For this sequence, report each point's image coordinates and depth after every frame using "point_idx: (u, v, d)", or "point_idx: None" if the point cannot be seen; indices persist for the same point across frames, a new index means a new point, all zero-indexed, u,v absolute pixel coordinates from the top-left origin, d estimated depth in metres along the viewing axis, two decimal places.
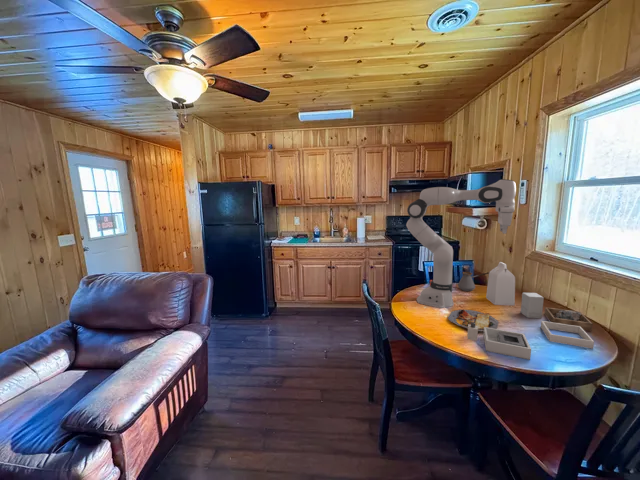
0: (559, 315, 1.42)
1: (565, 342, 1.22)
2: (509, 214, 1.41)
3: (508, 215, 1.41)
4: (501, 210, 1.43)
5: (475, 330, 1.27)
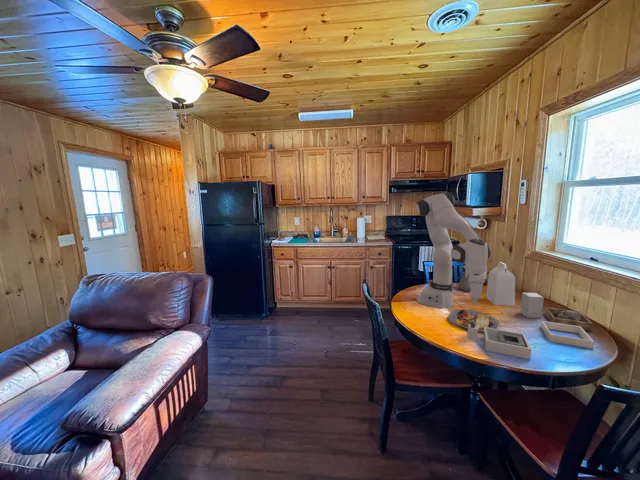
0: (561, 316, 1.42)
1: (565, 342, 1.22)
2: (479, 285, 1.16)
3: (478, 287, 1.16)
4: (469, 279, 1.18)
5: (475, 330, 1.27)
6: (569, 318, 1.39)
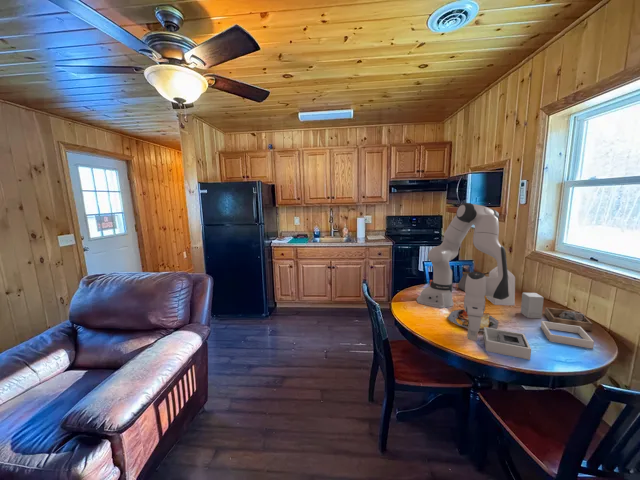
0: (562, 316, 1.41)
1: (565, 342, 1.22)
2: (477, 319, 1.19)
3: (476, 321, 1.19)
4: (468, 313, 1.21)
5: None
6: (570, 318, 1.39)
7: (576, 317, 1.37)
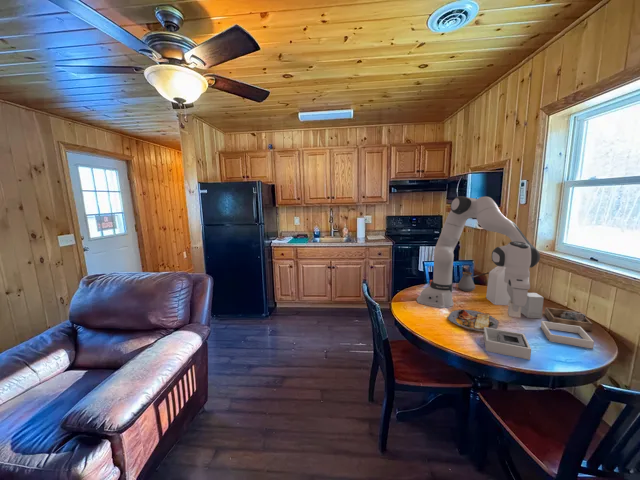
0: (563, 316, 1.41)
1: (565, 342, 1.22)
2: (523, 292, 1.07)
3: (522, 294, 1.07)
4: (512, 285, 1.09)
5: None
6: (571, 319, 1.38)
7: (577, 317, 1.37)
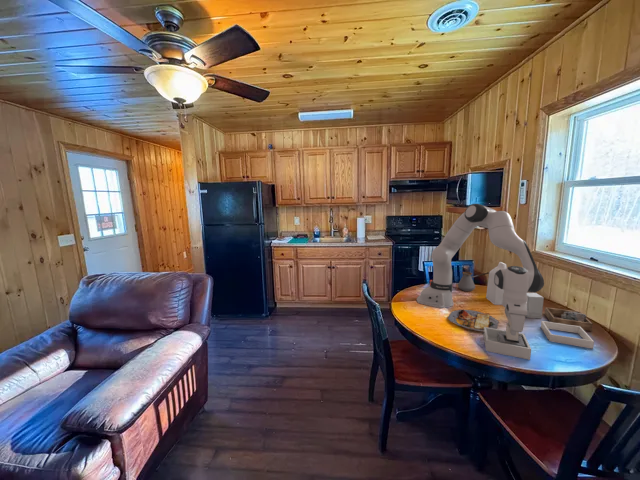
0: (563, 316, 1.41)
1: (565, 342, 1.22)
2: (521, 317, 1.09)
3: (519, 319, 1.09)
4: (510, 311, 1.11)
5: None
6: (572, 319, 1.38)
7: (577, 317, 1.37)
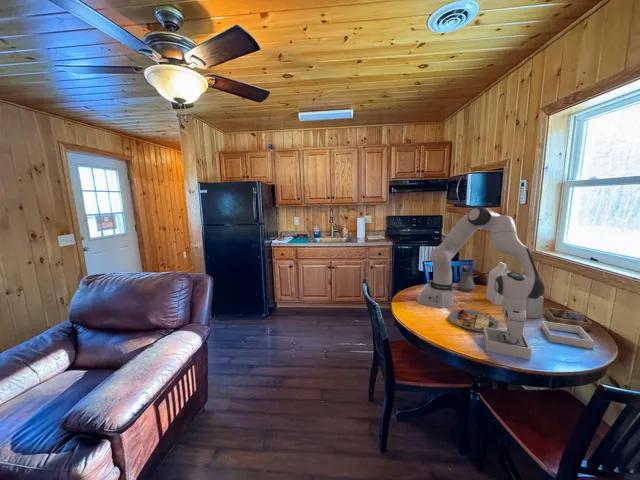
0: (564, 316, 1.41)
1: (565, 342, 1.22)
2: (520, 324, 1.09)
3: (519, 326, 1.09)
4: (509, 317, 1.11)
5: None
6: (572, 319, 1.38)
7: (578, 317, 1.37)
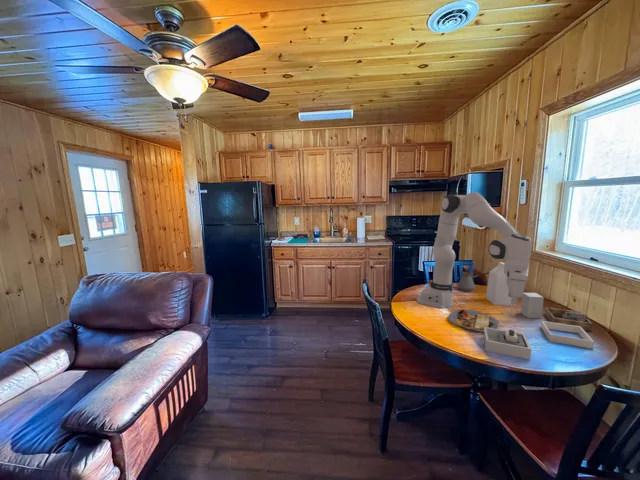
0: (565, 316, 1.41)
1: (565, 342, 1.22)
2: (521, 283, 1.09)
3: (519, 285, 1.09)
4: (510, 276, 1.11)
5: (514, 339, 1.17)
6: (573, 319, 1.38)
7: (579, 317, 1.37)
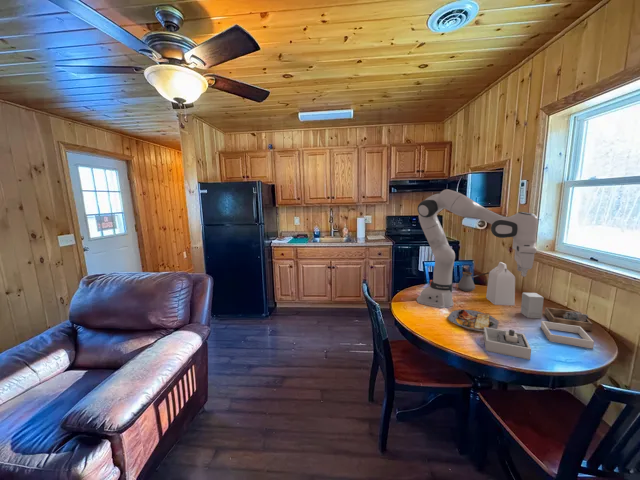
0: (565, 316, 1.41)
1: (565, 342, 1.22)
2: (530, 255, 1.18)
3: (529, 257, 1.18)
4: (520, 250, 1.20)
5: (514, 339, 1.17)
6: (573, 319, 1.38)
7: (579, 318, 1.37)
